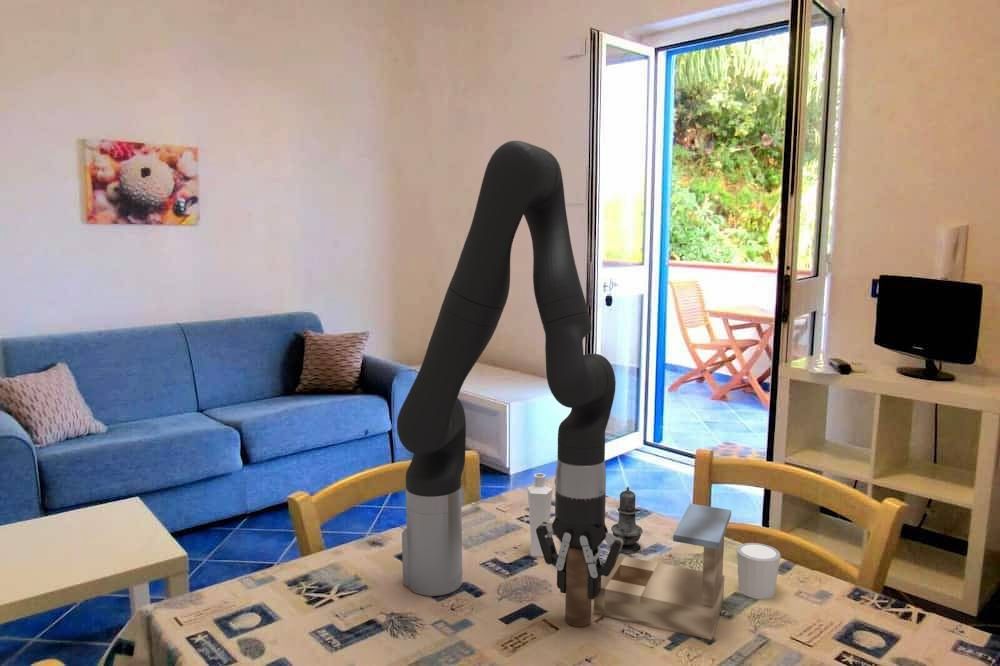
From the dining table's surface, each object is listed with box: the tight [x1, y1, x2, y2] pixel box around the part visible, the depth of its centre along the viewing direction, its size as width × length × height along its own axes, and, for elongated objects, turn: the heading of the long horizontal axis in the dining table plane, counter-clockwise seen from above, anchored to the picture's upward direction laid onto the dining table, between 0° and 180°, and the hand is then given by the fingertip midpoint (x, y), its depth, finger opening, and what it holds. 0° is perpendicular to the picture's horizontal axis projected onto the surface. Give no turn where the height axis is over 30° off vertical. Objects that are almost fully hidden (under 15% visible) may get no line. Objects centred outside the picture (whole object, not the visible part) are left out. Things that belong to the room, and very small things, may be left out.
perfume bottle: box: [527, 472, 553, 558], centre depth 135 cm, size 5×4×15 cm
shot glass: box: [736, 542, 781, 600], centre depth 122 cm, size 7×7×7 cm
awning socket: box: [593, 503, 732, 641], centre depth 116 cm, size 18×13×16 cm
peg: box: [564, 548, 593, 627], centre depth 112 cm, size 4×4×12 cm
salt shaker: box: [610, 486, 644, 555], centre depth 138 cm, size 6×6×12 cm
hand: (578, 593), depth 113 cm, fingers closed on peg, 4 cm apart
